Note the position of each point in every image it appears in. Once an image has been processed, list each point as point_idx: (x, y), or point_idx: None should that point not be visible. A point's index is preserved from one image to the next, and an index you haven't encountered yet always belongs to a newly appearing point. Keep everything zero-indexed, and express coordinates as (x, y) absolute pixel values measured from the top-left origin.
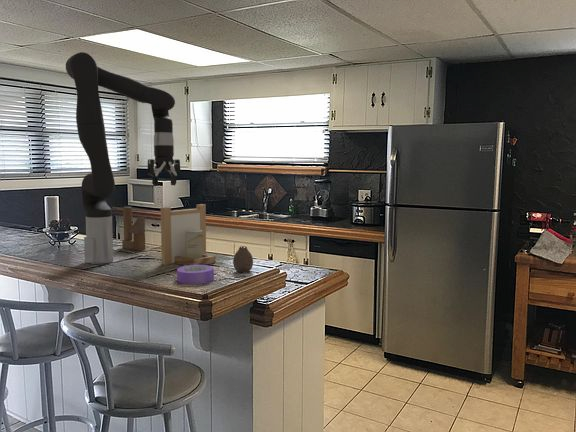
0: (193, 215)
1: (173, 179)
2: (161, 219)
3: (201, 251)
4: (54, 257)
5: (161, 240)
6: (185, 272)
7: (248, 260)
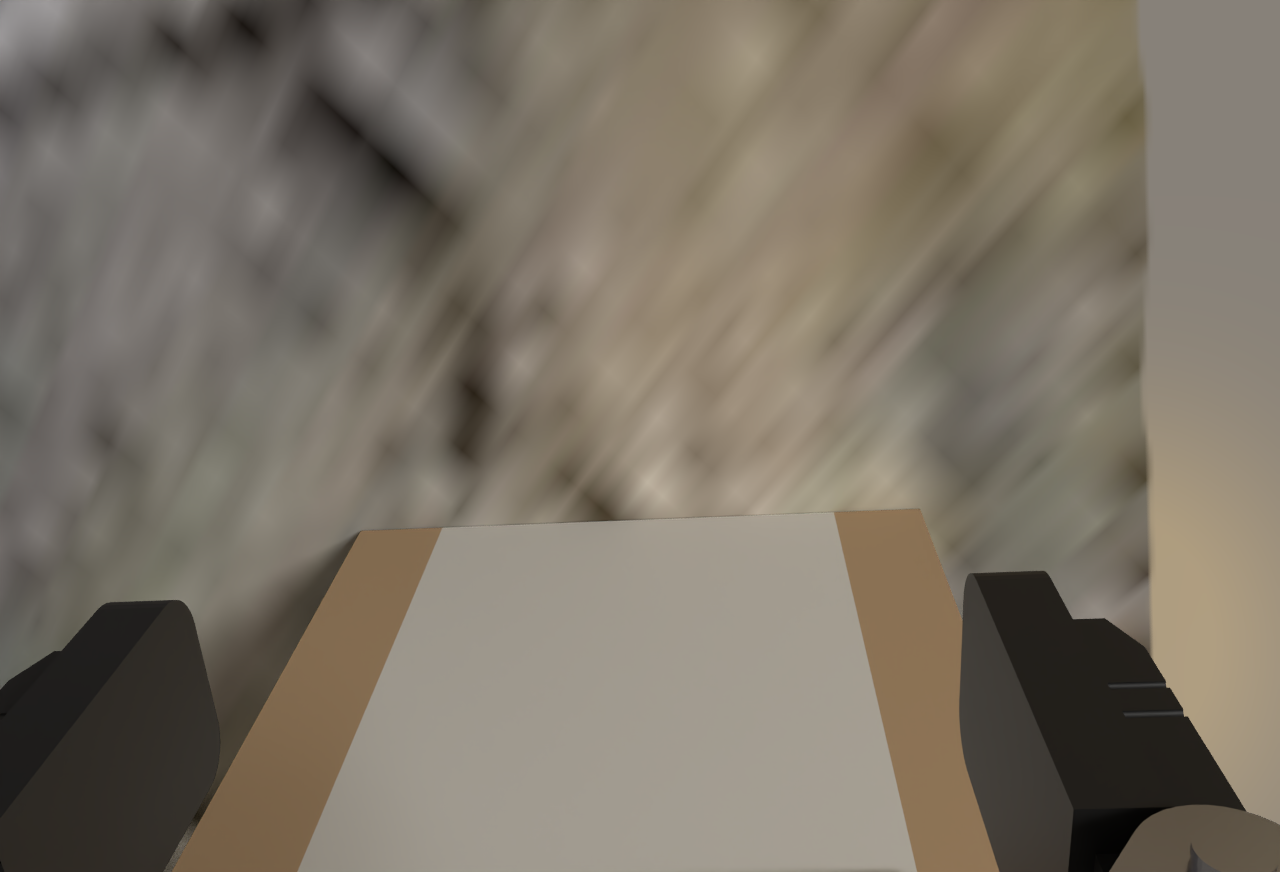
0: None
1: (1011, 869)
2: (184, 866)
3: None
4: None
5: (284, 672)
6: None
7: None
